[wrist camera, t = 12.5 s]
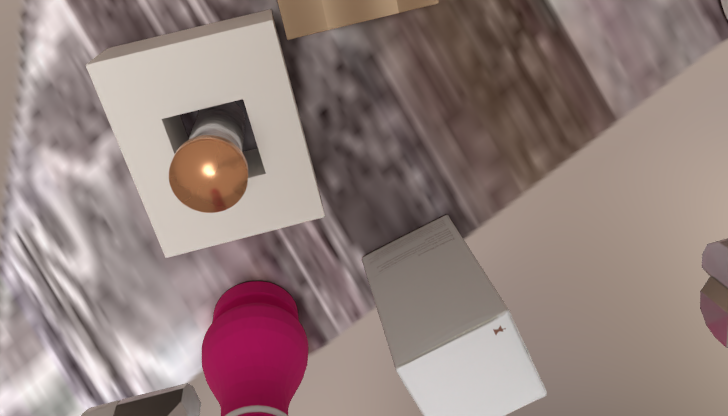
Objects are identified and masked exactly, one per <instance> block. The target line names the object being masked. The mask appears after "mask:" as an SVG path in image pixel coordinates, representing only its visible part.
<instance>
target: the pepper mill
mask: <svg viewBox="0 0 728 416" xmlns="http://www.w3.org/2000/svg"><path fill="white" fill-rule="evenodd" d="M307 360H308V340H307V336H306V333H305V331H304V329H303V327H302V325H301V324H300V323H299V319H298V309H297V306H296V303H295V301H294V299H293V298H292V297H291V295H290V294H289V293H288V292H287V291H285V290H284V289H283V288H281V287H279V286H277V285H275V284H272V283H269V282H262V281H251V282H246V283H242V284H239V285H236V286H235V287H233V288H231V289H229V290H228V291H227V292H226V293H224V294H223V295H222V297H221V298H220V299H219V301H218V302H217V304H216V307H215V310H214V314H213V322H212V324H211V326H210V327H209V329H208V331H207V332H206V334H205V337H204V340H203V344H202V368H203V371H204V374H205V378H206V381H207V383H208V385H209V387H210V389H211V391H212V392H213V394H214V396H215V397H216V399H217V400H218V402H219V404H220V406H221V416H288V407H289V403H290V401H291V399H292V397H293V396H294V394H295V392H296V390H297V389H298V387H299V385H300V383H301V381H302V379H303V376H304V372H305V370H306V366H307Z"/></svg>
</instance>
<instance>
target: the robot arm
mask: <svg viewBox="0 0 728 416" xmlns="http://www.w3.org/2000/svg"><path fill="white" fill-rule="evenodd" d="M721 3H722V7H723V10H724V13H725V15H726V17H727V19H728V0H721ZM702 268H703V269H704V270H705V271H706V272H707V273H708V275H710V278H709V279H708V281H707V282H706V283H705V285H704V287H703V288H702V289H701V291H700V293H701V295H700V309H701V312H702V314H703V317H704V320H705V323H706V325H707V327H708V328H709V329H710V331H711V332H712V334H713V335H714V336H715V338H717V339H718V340H719V341H720V342H721V343H722V344H723V345H724V346H725V347H726V348H728V239H724V240H720V241H717V242H713V243H709V244H707V246H706V248H705V250H704V252H703V257H702ZM200 407H201V402H200V400H199V398H198V395H197V393H196V391H195V389H194V387H193V386H191V385H190V384H188V383H186V384H182V385H178V386H174V387H170V388H166V389H162V390H158V391H154V392H150V393H146V394H142V395H138V396H133V397H129V398H125V399H122V400H120V401H114V402H111V403H107V404H103V405H99V406H95V407H91V408H89V409H87V410H86V411H85V412H84V413H83V414H82V415H81V416H199V415H200Z"/></svg>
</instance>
